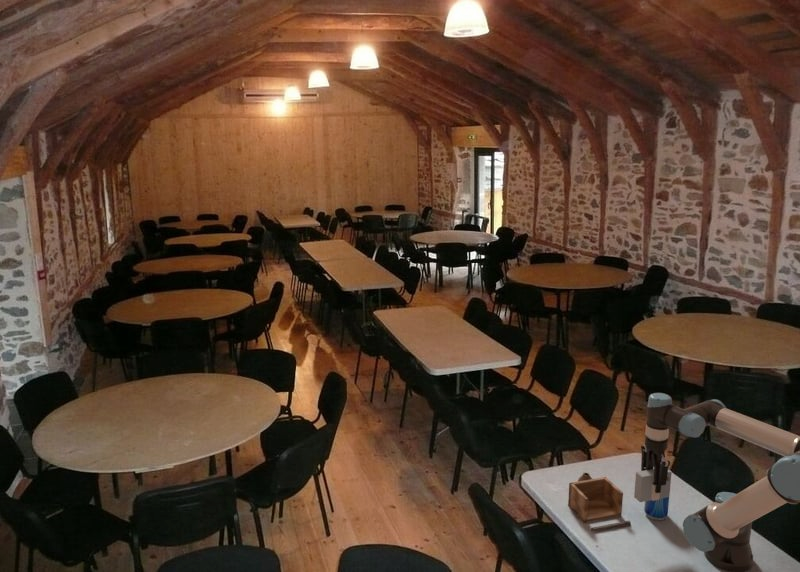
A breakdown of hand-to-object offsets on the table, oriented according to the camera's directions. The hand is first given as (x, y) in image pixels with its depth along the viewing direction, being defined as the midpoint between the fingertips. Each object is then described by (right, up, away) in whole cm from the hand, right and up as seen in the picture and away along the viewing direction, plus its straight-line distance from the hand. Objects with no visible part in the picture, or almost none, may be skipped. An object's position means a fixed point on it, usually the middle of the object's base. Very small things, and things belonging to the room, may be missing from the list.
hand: (651, 496), depth 235 cm
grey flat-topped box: (0, 0, 0) cm, 0 cm away
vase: (-15, -9, +32) cm, 37 cm away
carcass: (-14, -13, +17) cm, 26 cm away
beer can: (+8, -13, +17) cm, 23 cm away
